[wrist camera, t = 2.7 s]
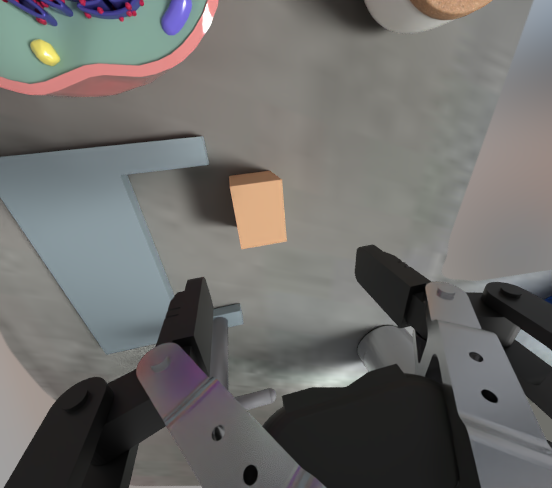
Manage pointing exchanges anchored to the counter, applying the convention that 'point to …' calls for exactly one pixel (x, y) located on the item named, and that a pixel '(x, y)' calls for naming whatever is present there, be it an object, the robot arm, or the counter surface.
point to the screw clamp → (109, 241)
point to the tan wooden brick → (258, 208)
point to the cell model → (95, 43)
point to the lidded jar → (419, 13)
